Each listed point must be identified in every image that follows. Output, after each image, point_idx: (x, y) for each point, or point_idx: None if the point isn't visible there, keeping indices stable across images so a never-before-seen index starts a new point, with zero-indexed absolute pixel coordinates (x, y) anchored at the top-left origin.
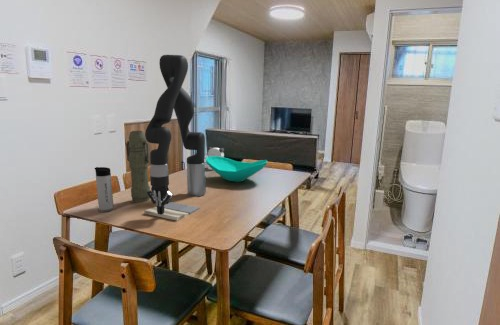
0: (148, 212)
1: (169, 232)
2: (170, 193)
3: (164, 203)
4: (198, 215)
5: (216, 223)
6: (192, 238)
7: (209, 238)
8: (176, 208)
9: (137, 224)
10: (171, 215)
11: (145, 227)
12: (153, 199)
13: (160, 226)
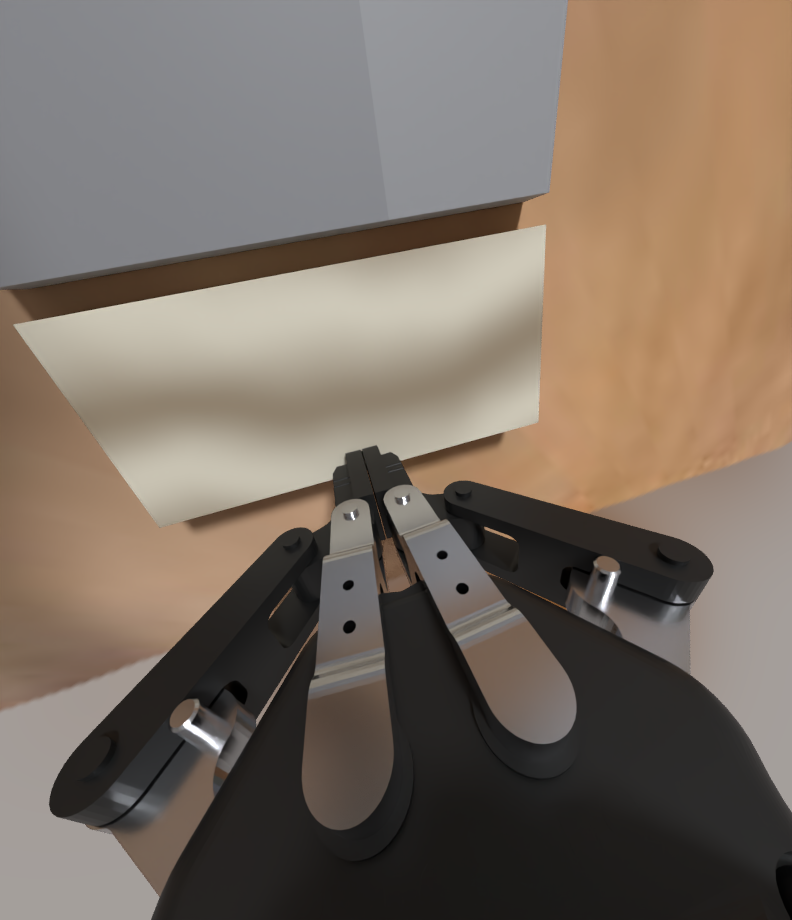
0: (221, 504)
1: None
2: (688, 620)
3: (489, 549)
4: (599, 117)
5: (787, 209)
6: (667, 471)
7: (741, 422)
8: (295, 171)
9: None
10: (473, 428)
11: None
12: (310, 629)
13: None
